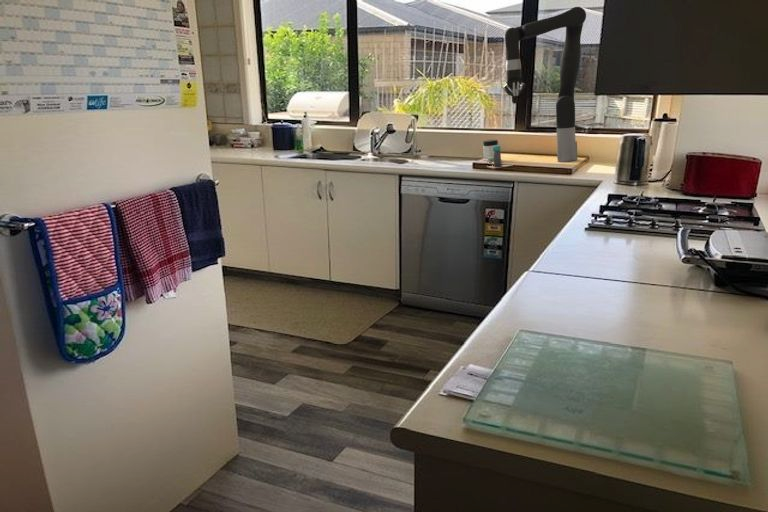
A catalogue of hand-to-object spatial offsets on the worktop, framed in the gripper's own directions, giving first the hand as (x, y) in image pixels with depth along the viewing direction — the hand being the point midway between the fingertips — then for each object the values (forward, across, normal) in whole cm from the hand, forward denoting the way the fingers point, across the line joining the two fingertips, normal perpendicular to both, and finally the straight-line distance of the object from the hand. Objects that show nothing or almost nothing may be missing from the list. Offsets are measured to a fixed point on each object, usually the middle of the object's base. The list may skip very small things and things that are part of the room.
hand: (515, 103), depth 310 cm
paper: (+32, -9, +3) cm, 33 cm away
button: (+31, -8, +13) cm, 35 cm away
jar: (+32, -4, +24) cm, 40 cm away
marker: (+32, -11, +2) cm, 34 cm away
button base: (+32, -8, +13) cm, 36 cm away
